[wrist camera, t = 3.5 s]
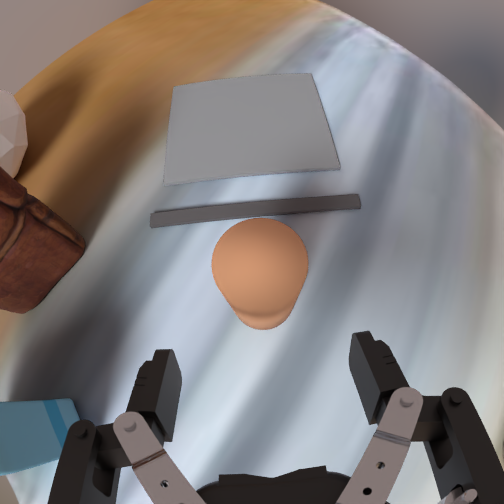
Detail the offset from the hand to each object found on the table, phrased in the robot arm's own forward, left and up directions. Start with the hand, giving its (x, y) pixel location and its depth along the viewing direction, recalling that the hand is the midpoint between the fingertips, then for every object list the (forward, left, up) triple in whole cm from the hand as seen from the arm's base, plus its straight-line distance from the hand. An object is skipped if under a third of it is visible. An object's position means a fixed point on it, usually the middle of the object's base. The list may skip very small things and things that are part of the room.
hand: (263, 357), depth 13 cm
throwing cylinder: (0, -4, -9) cm, 10 cm away
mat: (0, -20, -9) cm, 22 cm away
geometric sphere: (+32, -22, -9) cm, 40 cm away
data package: (+21, +8, -9) cm, 24 cm away
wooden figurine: (+21, -8, -9) cm, 24 cm away
